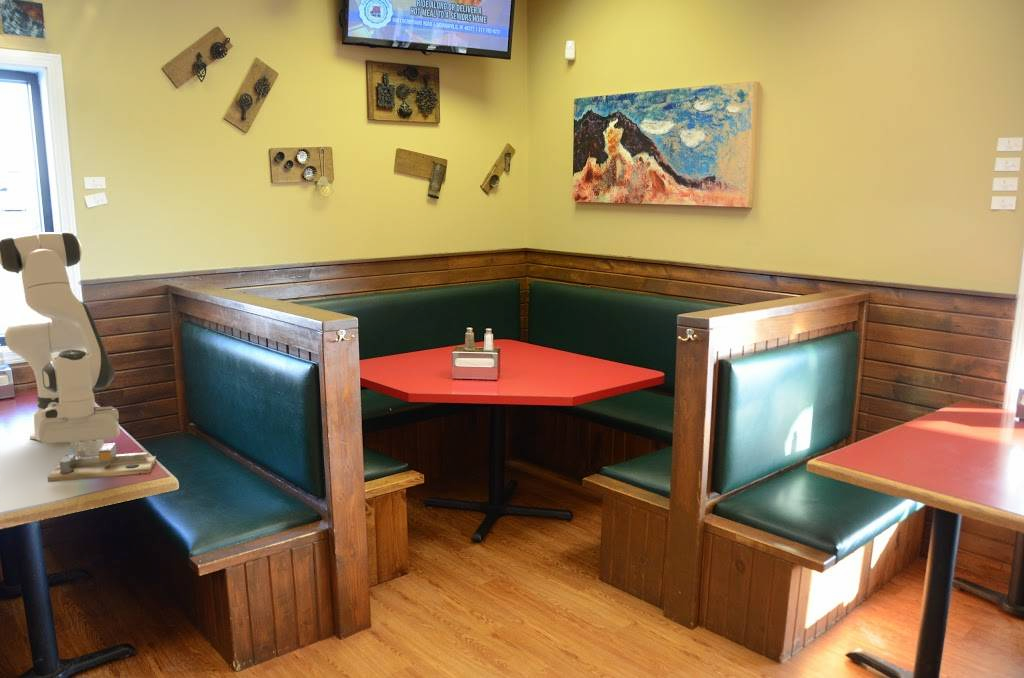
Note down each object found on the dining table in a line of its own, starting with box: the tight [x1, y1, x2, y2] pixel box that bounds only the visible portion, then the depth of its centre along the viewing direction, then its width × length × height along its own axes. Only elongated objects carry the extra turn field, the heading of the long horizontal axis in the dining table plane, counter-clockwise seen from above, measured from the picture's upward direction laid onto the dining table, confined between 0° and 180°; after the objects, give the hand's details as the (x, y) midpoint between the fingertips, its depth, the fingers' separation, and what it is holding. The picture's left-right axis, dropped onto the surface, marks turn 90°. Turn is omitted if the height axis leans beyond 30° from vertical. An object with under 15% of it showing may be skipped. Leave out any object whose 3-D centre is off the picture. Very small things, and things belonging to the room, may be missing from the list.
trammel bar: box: [59, 451, 148, 474], centre depth 235 cm, size 8×22×3 cm, turn 105°
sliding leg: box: [99, 442, 117, 468], centre depth 234 cm, size 7×3×6 cm, turn 15°
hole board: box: [47, 455, 157, 482], centre depth 235 cm, size 12×26×1 cm, turn 105°
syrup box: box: [77, 405, 106, 457], centre depth 249 cm, size 6×6×14 cm
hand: (82, 455), depth 232 cm, fingers closed
